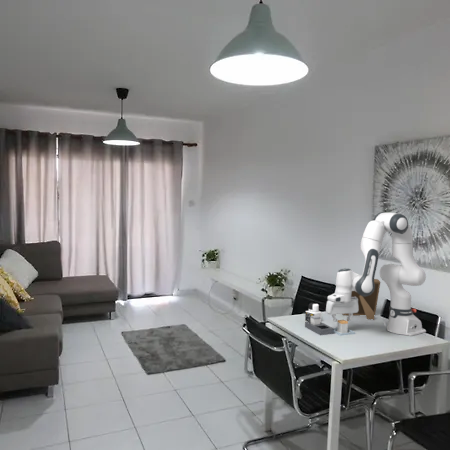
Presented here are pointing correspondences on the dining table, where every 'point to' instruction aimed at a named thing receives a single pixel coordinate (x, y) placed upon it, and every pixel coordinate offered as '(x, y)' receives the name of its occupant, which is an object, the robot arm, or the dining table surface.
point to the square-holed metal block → (320, 328)
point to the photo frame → (367, 302)
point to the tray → (344, 333)
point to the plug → (342, 326)
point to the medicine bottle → (312, 312)
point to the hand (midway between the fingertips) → (341, 321)
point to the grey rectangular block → (315, 320)
